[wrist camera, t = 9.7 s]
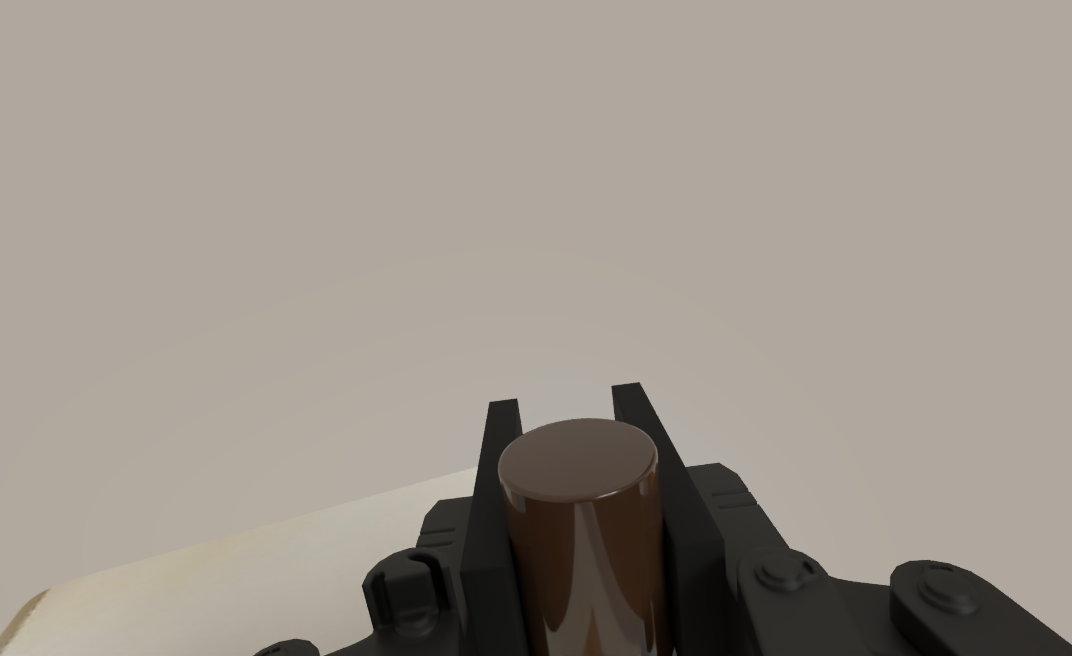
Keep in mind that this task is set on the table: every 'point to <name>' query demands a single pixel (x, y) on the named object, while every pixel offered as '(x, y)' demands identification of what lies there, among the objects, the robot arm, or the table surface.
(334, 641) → the table surface
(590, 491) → the lid
